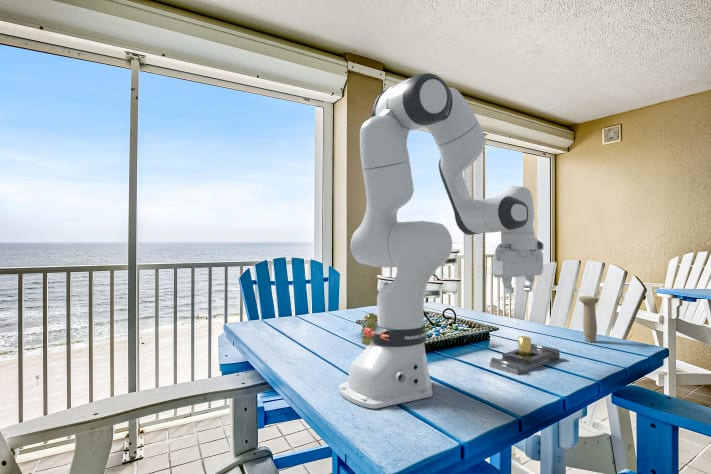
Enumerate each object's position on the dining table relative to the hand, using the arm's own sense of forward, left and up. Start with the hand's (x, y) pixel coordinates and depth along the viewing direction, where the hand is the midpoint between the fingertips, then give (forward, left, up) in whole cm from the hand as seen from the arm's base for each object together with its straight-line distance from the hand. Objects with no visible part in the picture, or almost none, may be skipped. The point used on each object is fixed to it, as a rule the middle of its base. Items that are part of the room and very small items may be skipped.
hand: (519, 292), depth 103 cm
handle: (+40, -2, -20) cm, 44 cm away
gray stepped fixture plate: (-2, -1, -20) cm, 20 cm away
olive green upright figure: (-19, +44, -20) cm, 52 cm away
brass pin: (+1, -1, -20) cm, 20 cm away
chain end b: (+4, -1, -20) cm, 20 cm away
